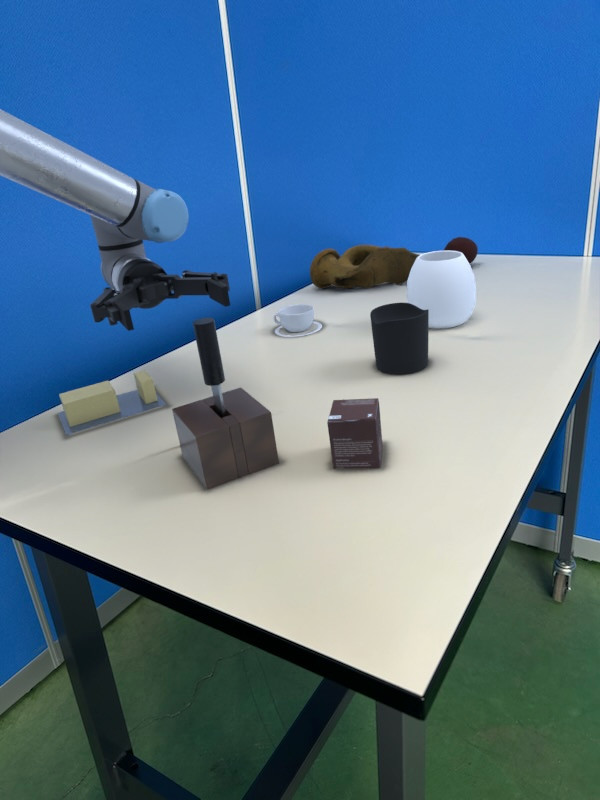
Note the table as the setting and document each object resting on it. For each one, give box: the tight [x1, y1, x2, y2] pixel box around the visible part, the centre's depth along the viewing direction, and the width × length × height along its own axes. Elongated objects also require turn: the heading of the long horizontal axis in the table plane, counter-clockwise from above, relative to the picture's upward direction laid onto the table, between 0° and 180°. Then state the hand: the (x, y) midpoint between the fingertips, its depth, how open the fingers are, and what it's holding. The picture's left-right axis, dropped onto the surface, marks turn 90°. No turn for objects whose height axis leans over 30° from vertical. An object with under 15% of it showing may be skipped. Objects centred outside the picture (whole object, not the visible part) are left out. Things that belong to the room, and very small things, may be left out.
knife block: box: [171, 387, 280, 490], centre depth 82 cm, size 10×10×8 cm
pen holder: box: [369, 302, 429, 376], centre depth 104 cm, size 9×9×10 cm
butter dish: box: [57, 389, 167, 436], centre depth 103 cm, size 16×10×1 cm, turn 117°
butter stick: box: [58, 380, 121, 427], centre depth 100 cm, size 8×5×4 cm, turn 117°
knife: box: [192, 317, 226, 418], centre depth 79 cm, size 3×3×20 cm
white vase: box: [406, 250, 477, 330], centre depth 121 cm, size 13×13×14 cm
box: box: [326, 397, 384, 470], centre depth 79 cm, size 6×6×7 cm
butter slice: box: [133, 369, 158, 404], centre depth 104 cm, size 2×5×4 cm, turn 27°
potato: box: [443, 236, 479, 265], centre depth 159 cm, size 8×9×8 cm
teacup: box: [273, 303, 323, 338], centre depth 129 cm, size 10×10×5 cm
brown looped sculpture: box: [309, 244, 420, 290], centre depth 151 cm, size 18×13×22 cm
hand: (179, 308), depth 83 cm, fingers open, 13 cm apart
